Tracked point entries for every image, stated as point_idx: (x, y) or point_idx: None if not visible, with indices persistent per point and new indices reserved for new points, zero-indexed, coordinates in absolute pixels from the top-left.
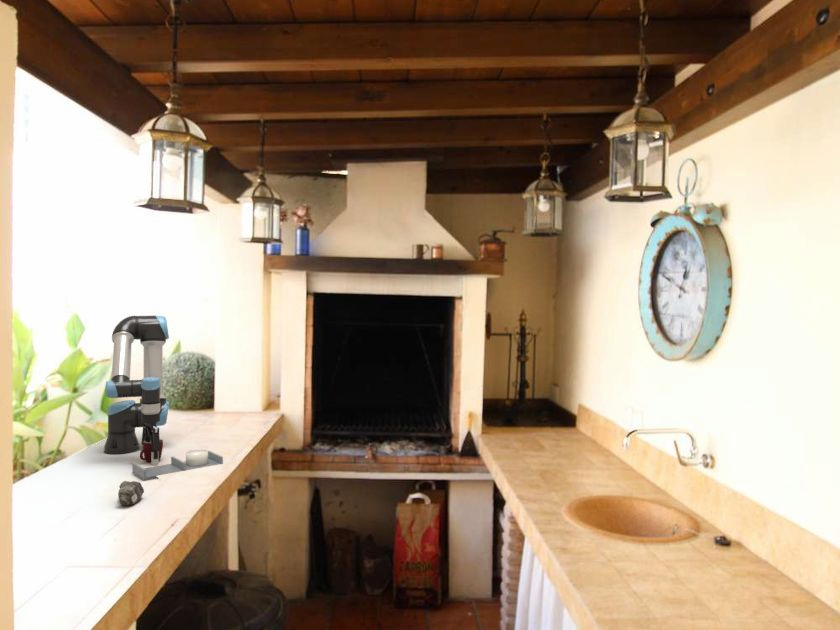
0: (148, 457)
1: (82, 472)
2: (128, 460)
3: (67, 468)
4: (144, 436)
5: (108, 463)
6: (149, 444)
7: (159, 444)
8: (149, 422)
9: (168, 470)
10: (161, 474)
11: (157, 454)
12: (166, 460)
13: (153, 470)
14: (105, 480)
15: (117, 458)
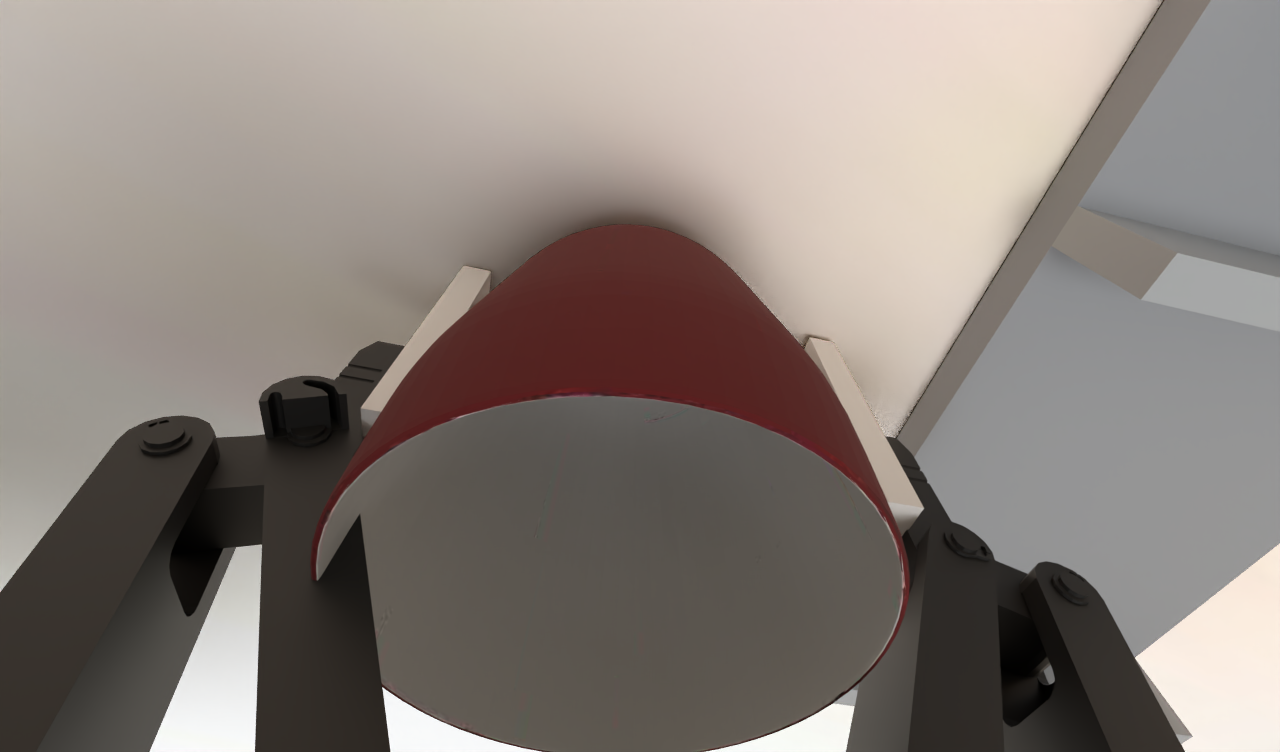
0: (687, 472)
1: (433, 728)
2: (210, 399)
3: (234, 732)
4: (129, 739)
5: (239, 559)
6: (760, 706)
7: (1149, 716)
8: None
9: (1242, 458)
10: (1243, 565)
11: (932, 501)
12: (616, 31)
13: (1034, 538)
14: (782, 734)
15: (14, 425)
